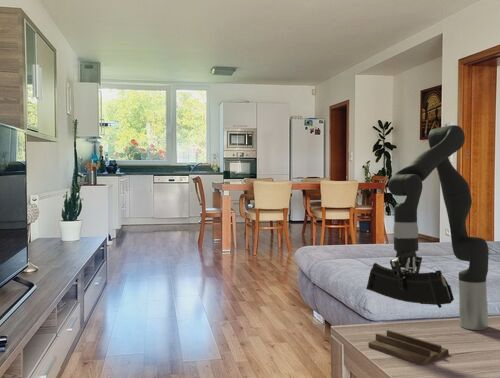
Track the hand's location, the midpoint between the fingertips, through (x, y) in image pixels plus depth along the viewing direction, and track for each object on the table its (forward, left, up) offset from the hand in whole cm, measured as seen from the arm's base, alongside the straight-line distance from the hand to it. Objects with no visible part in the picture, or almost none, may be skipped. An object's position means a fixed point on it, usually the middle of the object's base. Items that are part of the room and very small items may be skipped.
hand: (406, 289), depth 148 cm
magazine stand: (+1, 0, -20) cm, 20 cm away
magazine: (0, 0, -4) cm, 4 cm away
